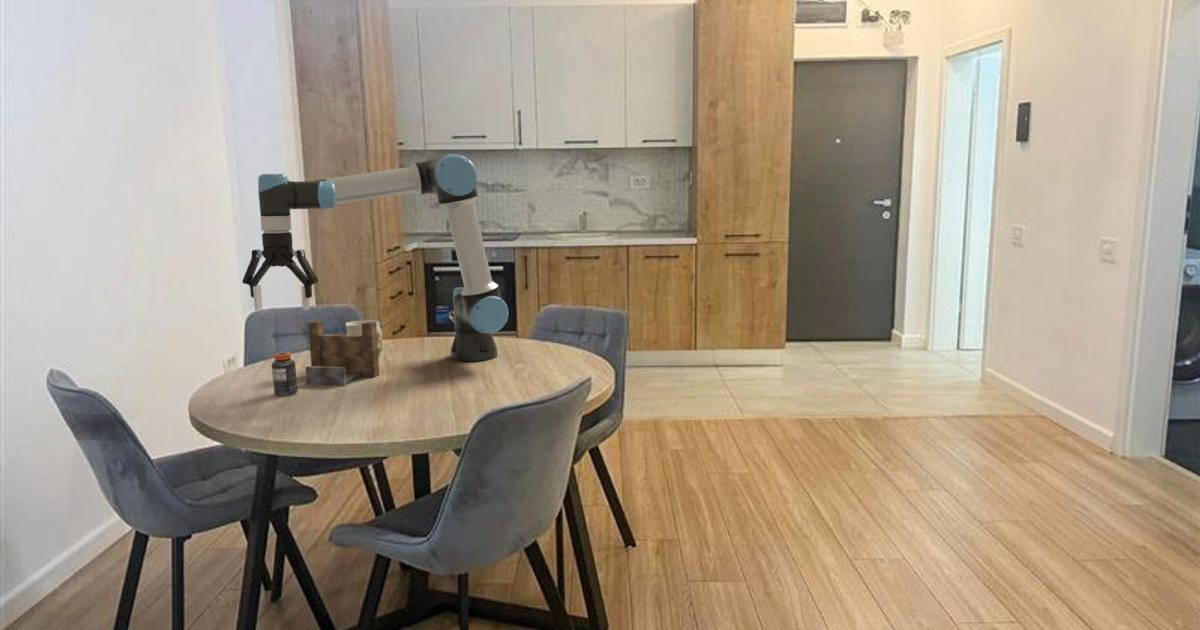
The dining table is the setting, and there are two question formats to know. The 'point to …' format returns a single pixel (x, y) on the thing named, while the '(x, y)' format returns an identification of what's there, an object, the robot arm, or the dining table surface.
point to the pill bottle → (284, 375)
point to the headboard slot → (342, 355)
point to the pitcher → (356, 329)
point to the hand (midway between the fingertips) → (282, 309)
